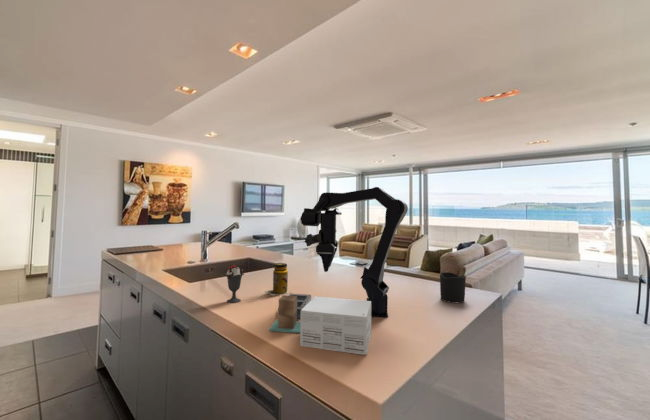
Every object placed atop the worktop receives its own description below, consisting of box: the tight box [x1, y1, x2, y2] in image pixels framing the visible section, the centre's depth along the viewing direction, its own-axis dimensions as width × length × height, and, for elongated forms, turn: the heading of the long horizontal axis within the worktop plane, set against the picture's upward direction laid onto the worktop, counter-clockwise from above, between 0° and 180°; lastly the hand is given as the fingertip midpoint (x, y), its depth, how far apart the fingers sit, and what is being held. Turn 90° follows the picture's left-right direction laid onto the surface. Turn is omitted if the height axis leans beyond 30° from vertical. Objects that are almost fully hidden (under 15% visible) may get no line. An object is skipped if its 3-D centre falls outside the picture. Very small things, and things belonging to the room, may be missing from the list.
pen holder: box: [439, 271, 467, 303], centre depth 110 cm, size 9×9×10 cm
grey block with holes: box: [277, 293, 312, 320], centre depth 96 cm, size 8×16×3 cm, turn 173°
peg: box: [277, 294, 298, 329], centre depth 81 cm, size 4×4×8 cm
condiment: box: [265, 262, 291, 297], centre depth 116 cm, size 7×8×12 cm
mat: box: [268, 319, 300, 334], centre depth 81 cm, size 9×7×1 cm
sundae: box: [224, 260, 245, 304], centre depth 104 cm, size 7×7×15 cm
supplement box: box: [299, 295, 372, 356], centre depth 74 cm, size 17×13×9 cm
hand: (327, 269), depth 102 cm, fingers open, 9 cm apart
